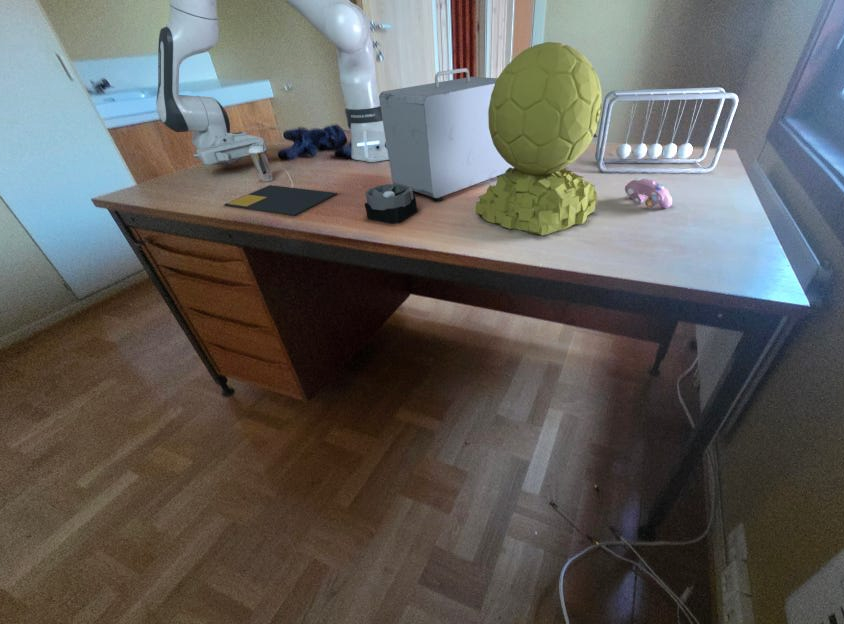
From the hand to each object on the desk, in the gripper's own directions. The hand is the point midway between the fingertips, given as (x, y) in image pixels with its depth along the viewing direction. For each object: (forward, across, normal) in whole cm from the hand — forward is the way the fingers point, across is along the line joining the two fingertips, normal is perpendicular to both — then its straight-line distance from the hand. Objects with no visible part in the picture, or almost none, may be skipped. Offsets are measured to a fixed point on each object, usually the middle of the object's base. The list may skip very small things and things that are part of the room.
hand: (244, 153), depth 118 cm
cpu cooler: (+64, +2, +6) cm, 64 cm away
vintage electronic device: (+60, +28, +6) cm, 67 cm away
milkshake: (+10, 0, +6) cm, 12 cm away
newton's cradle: (+100, +67, +6) cm, 120 cm away
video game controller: (+109, +38, +6) cm, 116 cm away
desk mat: (+31, -7, +6) cm, 32 cm away
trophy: (+92, +21, +6) cm, 94 cm away
